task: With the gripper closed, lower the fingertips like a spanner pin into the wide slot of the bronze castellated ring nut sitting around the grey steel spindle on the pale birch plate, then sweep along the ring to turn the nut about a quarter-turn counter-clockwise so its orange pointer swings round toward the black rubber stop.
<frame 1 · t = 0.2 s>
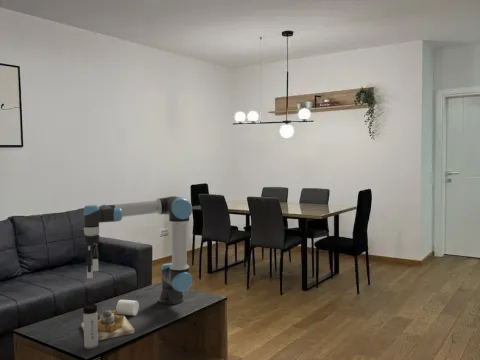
hand: (92, 274, 232), 27 cm above the table, fingers open, 13 cm apart
mug: (129, 313, 249), on the table
spindle plate: (107, 329, 225), on the table
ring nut: (107, 321, 224), point 5 cm above the table, hinge at 0.0°
travel mug: (91, 346, 206), on the table
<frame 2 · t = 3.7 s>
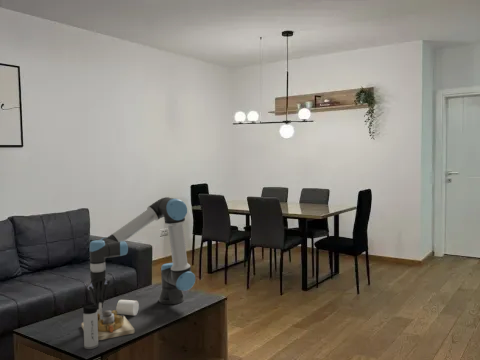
hand: (99, 314, 229), 6 cm above the table, fingers closed
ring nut: (107, 321, 224), point 5 cm above the table, hinge at 0.0°, touching gripper
everything else where it was.
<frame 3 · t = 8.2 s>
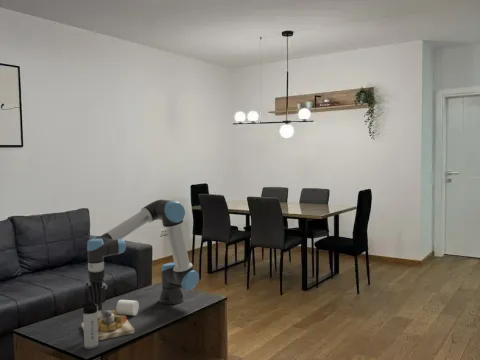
hand: (98, 316, 219), 9 cm above the table, fingers closed
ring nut: (109, 319, 226), point 5 cm above the table, hinge at 96.0°
everything else where it was.
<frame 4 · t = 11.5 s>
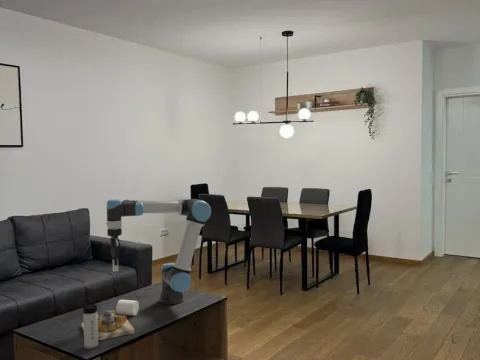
hand: (115, 270, 240), 26 cm above the table, fingers closed
nothing on the table moved.
at the end: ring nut at +96° (first picture: +0°) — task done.
